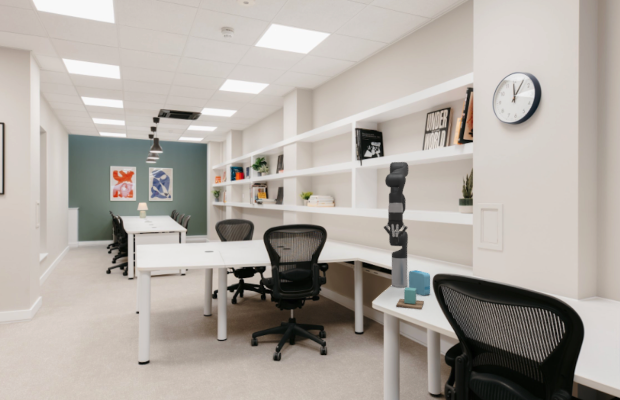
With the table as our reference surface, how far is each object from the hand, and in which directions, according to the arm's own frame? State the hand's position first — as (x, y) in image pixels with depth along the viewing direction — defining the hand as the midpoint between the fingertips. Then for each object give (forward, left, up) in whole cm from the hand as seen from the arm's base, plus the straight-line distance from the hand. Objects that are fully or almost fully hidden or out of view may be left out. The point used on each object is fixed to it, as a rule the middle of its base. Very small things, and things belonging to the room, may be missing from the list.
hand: (395, 243), depth 202 cm
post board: (+11, +9, -29) cm, 32 cm away
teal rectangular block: (+11, +9, -28) cm, 31 cm away
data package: (-14, +11, -29) cm, 34 cm away
